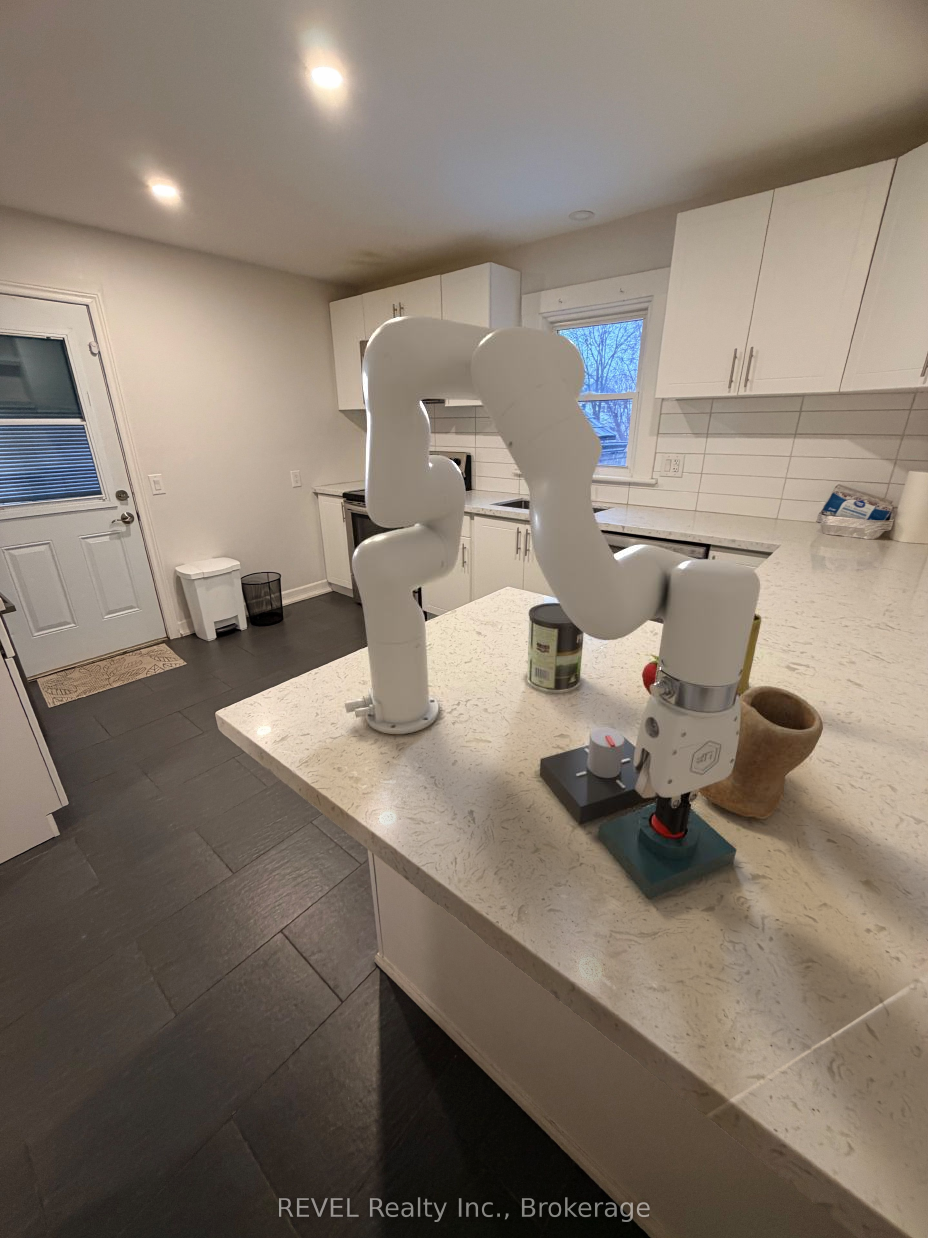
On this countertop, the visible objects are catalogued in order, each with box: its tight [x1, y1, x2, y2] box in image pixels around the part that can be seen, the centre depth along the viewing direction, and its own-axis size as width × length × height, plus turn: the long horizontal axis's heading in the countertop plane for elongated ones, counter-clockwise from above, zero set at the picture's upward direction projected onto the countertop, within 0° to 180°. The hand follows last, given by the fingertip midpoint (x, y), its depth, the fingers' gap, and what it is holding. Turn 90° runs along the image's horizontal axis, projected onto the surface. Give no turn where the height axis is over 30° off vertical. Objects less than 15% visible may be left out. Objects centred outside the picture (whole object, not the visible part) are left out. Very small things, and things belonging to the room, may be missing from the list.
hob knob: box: [587, 726, 624, 778], centre depth 66 cm, size 4×4×5 cm
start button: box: [650, 814, 685, 839], centre depth 57 cm, size 4×4×2 cm
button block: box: [597, 803, 737, 900], centre depth 57 cm, size 12×9×4 cm
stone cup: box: [699, 685, 824, 820], centre depth 65 cm, size 15×12×15 cm
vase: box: [737, 612, 763, 695], centre depth 90 cm, size 6×6×14 cm
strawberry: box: [641, 654, 659, 696], centre depth 86 cm, size 6×8×10 cm
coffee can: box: [526, 602, 585, 694], centre depth 93 cm, size 10×10×14 cm
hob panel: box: [539, 736, 658, 826], centre depth 68 cm, size 14×10×3 cm
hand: (669, 824), depth 56 cm, fingers closed
